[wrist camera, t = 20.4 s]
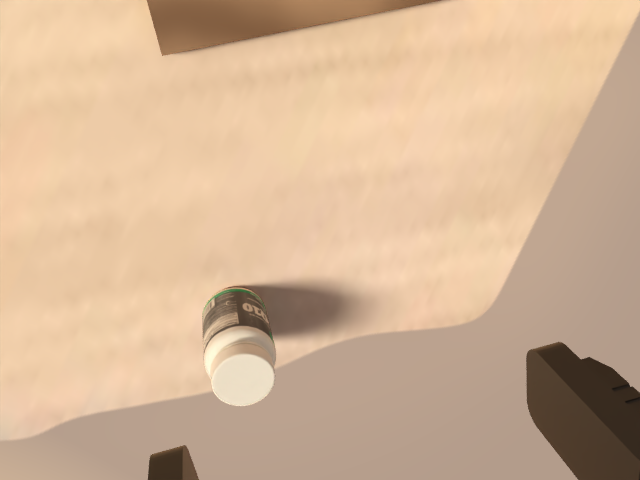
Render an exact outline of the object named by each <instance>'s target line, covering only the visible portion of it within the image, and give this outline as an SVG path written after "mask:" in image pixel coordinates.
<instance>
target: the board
mask: <svg viewBox="0 0 640 480" xmlns="http://www.w3.org/2000/svg"><path fill="white" fill-rule="evenodd" d="M435 1H440V0H147V2H148V6H149V10H150V13H151V17H152V20H153V24H154V28H155V31H156V35H157V39H158V42H159V46H160V50H161V53H162V56H163V55H168V54H173V53H178V52H183V51H188V50H193V49H198V48H203V47H208V46H214V45H219V44H224V43H229V42H234V41H239V40H244V39H249V38H254V37H259V36H264V35H269V34H274V33H279V32H284V31H289V30H294V29H299V28H304V27H309V26H314V25H319V24H324V23H329V22H334V21H339V20H344V19H349V18H354V17H360V16H365V15H370V14H375V13H380V12H385V11H390V10H395V9H400V8H405V7H410V6H415V5H420V4H425V3H430V2H435Z"/></svg>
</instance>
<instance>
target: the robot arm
mask: <svg viewBox="0 0 640 480" xmlns="http://www.w3.org/2000/svg"><path fill="white" fill-rule="evenodd" d="M526 359H527V360H526V362H527V404H528V409H529V412H530V415H531V417H532V419H533V421H534V423H535V425H536V426H537V428H538V429H539V430H540V432H541V433H542V434H543V435H544V437H545V438H546V439H547V440H548V442H549V443H550V444H551V446H552V447H553V448H554V449H555V451H556V452H557V453H558V454H559V456H560V457H561V458H562V459H563V461H564V462H565V463H566V465H567V466H568V467H569V468H570V470H571V471H572V472H573V473H574V475H575V476H576V477H577V479H578V480H640V393H639V392H638V391H637V390H636V389H635V388H634V387H630V385H629V383H628V382H627V381H626V380H625V379H624V378H622V377H621V376H620V375H619V374H618V373H617V372H616V371H615V370H614V369H613V368H611V367H609V366H607V365H605V364H602V363H600V362H598V361H596V360H594V359H592V358H590V357H588V358H585V359H582V360H581V359H580V358H579V357H578V356H577V355H576V354H574V353H573V352H572V351H571V350H570V349H569V348H568V347H567V346H566V345H565V344H563V343H561V342H557V343H553V344H550V345H546V346H543V347H539V348H536V349H532V350H529V351H528V353H527V358H526ZM148 480H199V479H198V476H197V473H196V470H195V467H194V465H193V462H192V459H191V457H190V454H189V451H188V449H187V447H186V446H185V445H184V446H180V447H177V448H173V449H170V450H166V451H162V452H159V453H155V454H152V455H151V456H150V461H149V474H148Z"/></svg>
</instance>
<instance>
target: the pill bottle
mask: <svg viewBox="0 0 640 480" xmlns="http://www.w3.org/2000/svg"><path fill="white" fill-rule="evenodd" d="M202 323H203V350H204V365H205V369H206V372H207V374H208V375H209V377H210V378H211V385H212V389H213V391H214V393H215V395H216V396H217V397H218V398H219V399H220V400H222V401H223V402H225V403H227V404H230V405H234V406H247V405H251V404H254V403H257V402H259V401H260V400H262V399H263V398H265V397H266V396H267V395H268V393H269V392H270V391H271V389H272V387H273V385H274V382H275V372H274V365H275V361H276V350H275V345H274V341H273V338H272V333H271V329H270V325H269V321H268V317H267V313H266V309H265V305H264V303H263V301H262V300H261V298H260V297H259V296H258V295H257V294H255V293H254V292H253V291H251V290H248V289H245V288H238V287H234V288H227V289H224V290H221V291H219V292H217V293H216V294H214V295H213V296H212V297H211V298H210V299H209V300H208V301H207V303H206V305H205V307H204V310H203V316H202Z"/></svg>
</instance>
